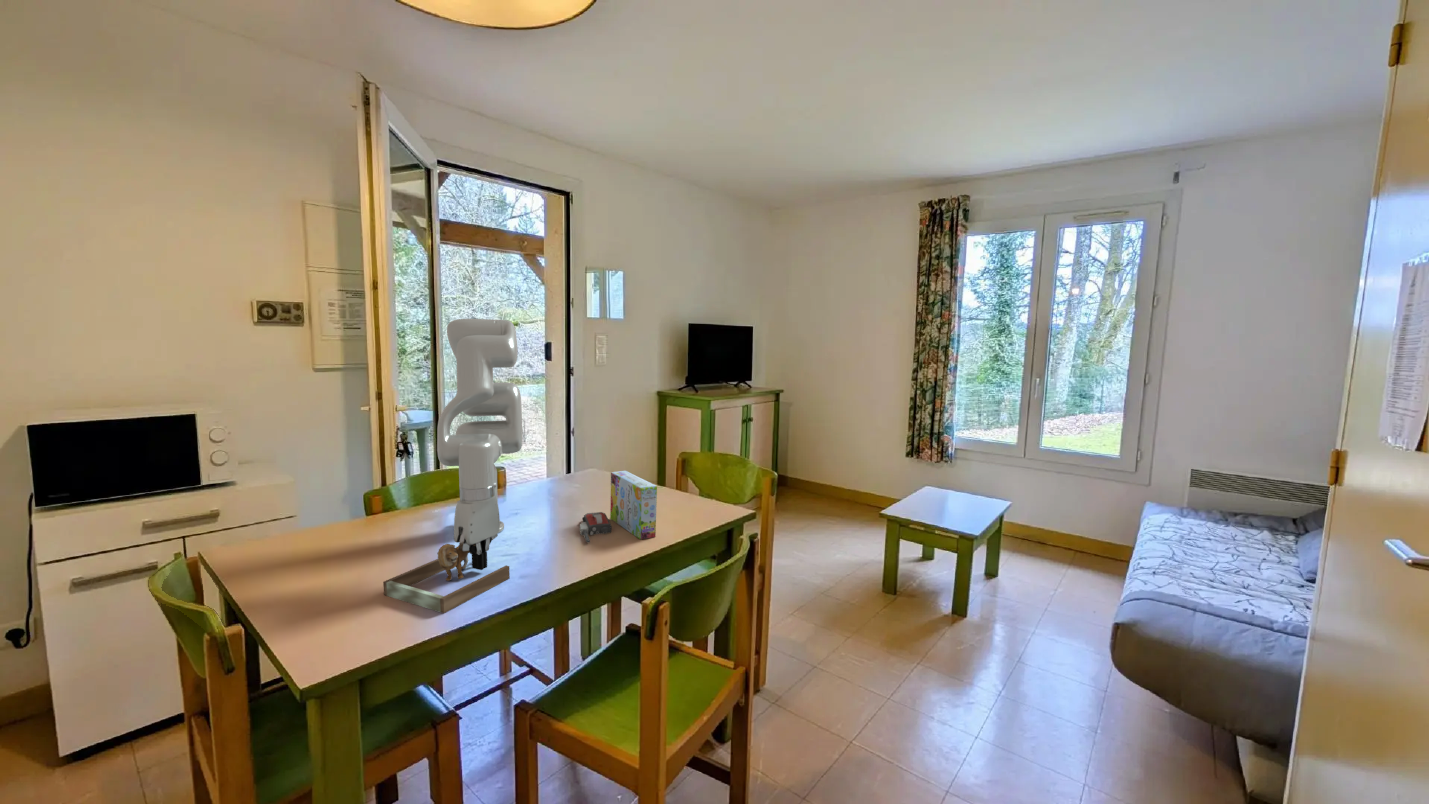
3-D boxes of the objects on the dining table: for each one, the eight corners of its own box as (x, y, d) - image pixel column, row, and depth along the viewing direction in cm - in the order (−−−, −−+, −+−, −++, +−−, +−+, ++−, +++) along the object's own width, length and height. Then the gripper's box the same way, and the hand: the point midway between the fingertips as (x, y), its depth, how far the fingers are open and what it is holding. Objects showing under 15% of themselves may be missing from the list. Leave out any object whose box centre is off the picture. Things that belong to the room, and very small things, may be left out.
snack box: (657, 537, 157) (658, 485, 155) (639, 540, 154) (640, 488, 152) (625, 516, 174) (625, 469, 173) (608, 519, 171) (608, 471, 169)
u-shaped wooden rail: (383, 594, 119) (383, 581, 119) (453, 564, 136) (452, 552, 135) (444, 613, 112) (443, 599, 112) (509, 578, 129) (509, 566, 128)
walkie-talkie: (575, 522, 168) (584, 547, 149) (575, 508, 168) (583, 531, 149) (605, 520, 171) (616, 543, 153) (605, 506, 171) (616, 528, 152)
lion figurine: (460, 585, 123) (453, 546, 122) (436, 588, 123) (429, 549, 122) (487, 559, 138) (481, 524, 137) (466, 561, 138) (460, 527, 137)
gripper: (489, 483, 138) (491, 554, 140) (438, 498, 124) (441, 577, 126) (513, 487, 135) (514, 559, 137) (463, 503, 121) (466, 583, 123)
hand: (479, 567), depth 132 cm, fingers closed
